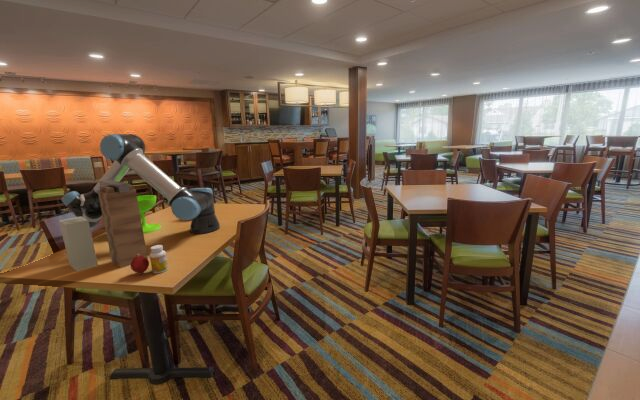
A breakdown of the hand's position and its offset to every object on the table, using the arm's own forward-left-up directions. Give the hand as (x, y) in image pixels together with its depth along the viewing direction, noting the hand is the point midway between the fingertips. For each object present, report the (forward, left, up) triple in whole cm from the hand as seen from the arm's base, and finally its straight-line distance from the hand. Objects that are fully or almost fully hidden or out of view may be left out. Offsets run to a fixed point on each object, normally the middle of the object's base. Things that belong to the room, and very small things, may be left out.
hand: (102, 194), depth 129 cm
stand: (-15, +13, -26) cm, 33 cm away
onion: (-27, +26, -26) cm, 46 cm away
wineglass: (+2, -30, -26) cm, 40 cm away
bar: (-13, +11, +4) cm, 17 cm away
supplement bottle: (-33, +24, -26) cm, 48 cm away
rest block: (+2, +15, -26) cm, 30 cm away
